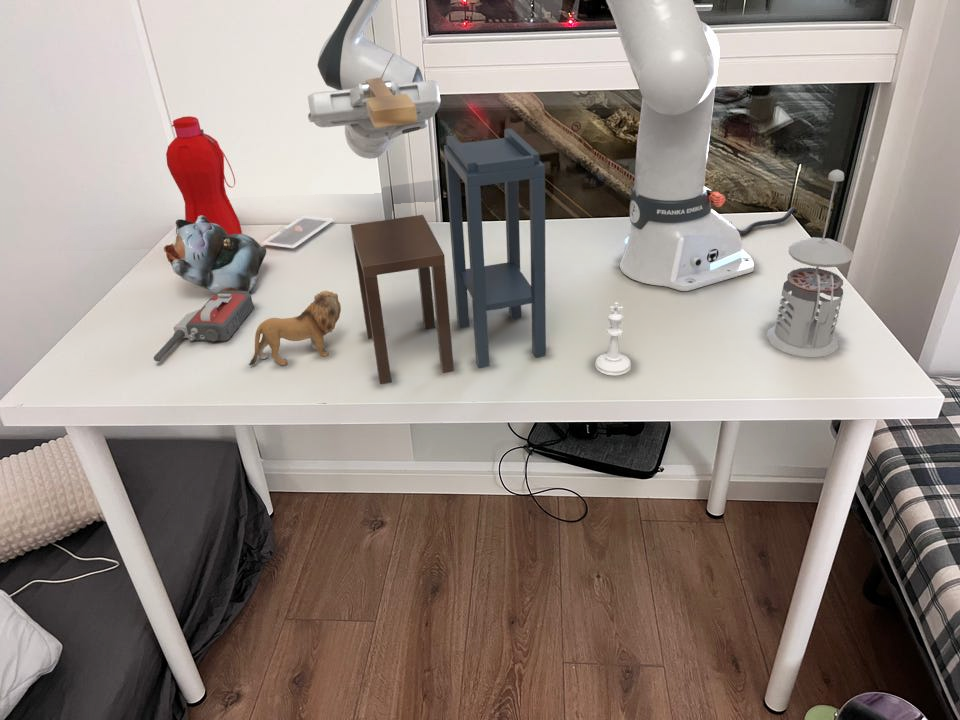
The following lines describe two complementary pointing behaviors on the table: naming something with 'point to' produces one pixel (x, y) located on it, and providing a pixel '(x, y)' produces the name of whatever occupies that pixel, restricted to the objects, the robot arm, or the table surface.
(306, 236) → the touchpad
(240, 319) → the walkie-talkie
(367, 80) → the crossed tan timber pieces
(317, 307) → the lion figurine
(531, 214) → the tall stand
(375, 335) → the low stand
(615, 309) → the chess piece
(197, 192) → the water bottle
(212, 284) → the lucky cat figurine
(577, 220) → the table surface
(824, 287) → the french press
